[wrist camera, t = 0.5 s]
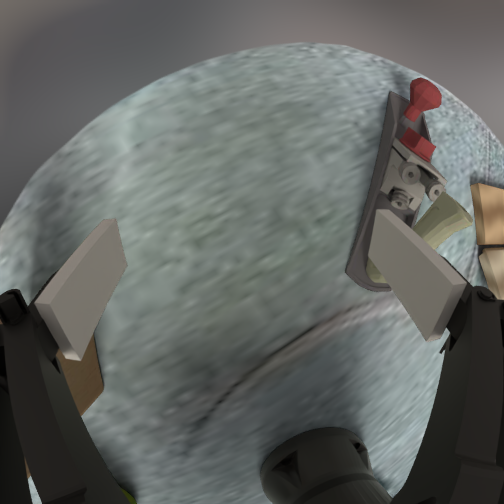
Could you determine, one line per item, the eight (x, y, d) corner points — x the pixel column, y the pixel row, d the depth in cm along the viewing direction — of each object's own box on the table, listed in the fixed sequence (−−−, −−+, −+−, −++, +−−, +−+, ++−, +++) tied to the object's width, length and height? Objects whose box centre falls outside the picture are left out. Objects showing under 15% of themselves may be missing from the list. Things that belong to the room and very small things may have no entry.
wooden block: (29, 309, 26) (-88, 335, 7) (91, 310, 28) (-36, 355, 8) (44, 382, 26) (-49, 447, 6) (105, 390, 27) (22, 490, 7)
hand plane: (341, 278, 32) (426, 286, 17) (389, 87, 34) (442, 35, 19) (386, 297, 32) (475, 311, 17) (422, 110, 35) (480, 69, 20)
